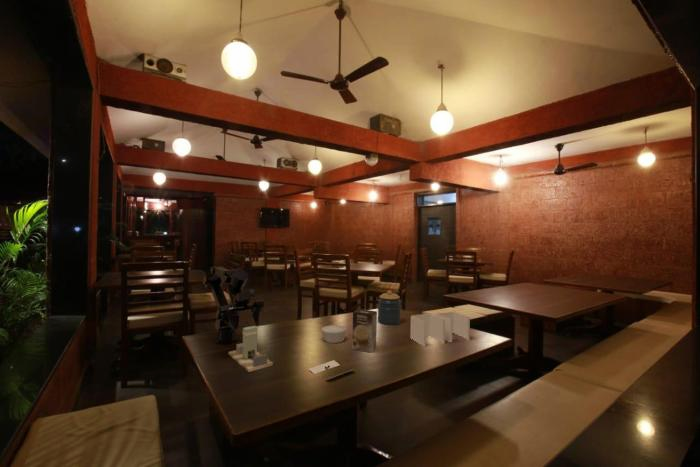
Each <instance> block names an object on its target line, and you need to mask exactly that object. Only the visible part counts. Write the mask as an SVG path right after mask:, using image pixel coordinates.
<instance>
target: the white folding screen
mask: <svg viewBox="0 0 700 467" xmlns="http://www.w3.org/2000/svg"><path fill="white" fill-rule="evenodd" d="M470 321H471V317H470V316H468V315H465V314H462V313H460V312H456V311H445V312H436V313H435V314H432V313H425V314H416V315H414V314H413V315H410V338H411V340H412V339H413V340H414V342H415V341H416V343H417V342H418V343H417V344H419V345H420V344H421V345H420V346H422V345H423V346H422V347H424V346H425V347H427V337H426V336H431V337H430V338H432V337H433V338H432V339H434V338H435V339H434V340H436V339H437V340H436V341H438V342H439V341H440V342H439V343H441V342H442V343H441V344H442V345H444V343H446V342H447V341H448V342H447V343H449V342H452V343H453V334H452V333H455V334H454V335H456V334H457V335H456V336H458V335H459V336H458V337H460V336H462V337H461V338H463V337H464V338H463V339H465V338H466V339H465V340H466V341H470V340H471V339H470V338H471V336H470V330H471V329H470V328H471V327H470V324H471V322H470ZM413 340H412V341H413ZM445 340H446V341H445Z"/></svg>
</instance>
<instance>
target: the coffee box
mask: <svg viewBox="0 0 700 467" xmlns="http://www.w3.org/2000/svg"><path fill="white" fill-rule="evenodd" d="M377 322H378V310H377V311H376V310H370V309H362V308H357V309H355V310H354V311H352V336H351V337H352V342H351V343H352V344H351V347H352V348H351V350H355V351H359V352H360V351H361V352H365V353H370V354H372V353H373V352H374V351H375V350H376V349H377V332H378V331H377V327H378V326H377V324H378V323H377Z"/></svg>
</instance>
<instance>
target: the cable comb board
mask: <svg viewBox="0 0 700 467" xmlns="http://www.w3.org/2000/svg"><path fill="white" fill-rule="evenodd" d="M251 351H252V350H251ZM261 355H262V354H261V353H260V352H258V351H257V356H261ZM228 356H230V357H231V358H232V359H233V360H235V361H236V362H237V363H238V365H240V366H241V367H242V368H244V369H245V370H246V371H248V373H250V372H253V371H258V370H261V369H264V368H267V367H271V366H273V364H274V362H273V361H272V360H270V359H268V358H267V364H264V365H260V366H257V367H253V358H252V357H251V356H250V355H248V359H245V358H244V357H243V354H239V353H237V352H236V350H235V349H234V350H231V351H228Z"/></svg>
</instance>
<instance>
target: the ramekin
mask: <svg viewBox="0 0 700 467" xmlns="http://www.w3.org/2000/svg"><path fill="white" fill-rule="evenodd" d="M321 332H322V338H323V340H324V342H326V343H328V344H337V343H342V342H344V340H345V339H346V332H347V327H345V326H344V325H343V326H342V325H338V324H337V325H336V324H334V325H333V324H331V325H326V326H323V327H322V328H321Z"/></svg>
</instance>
